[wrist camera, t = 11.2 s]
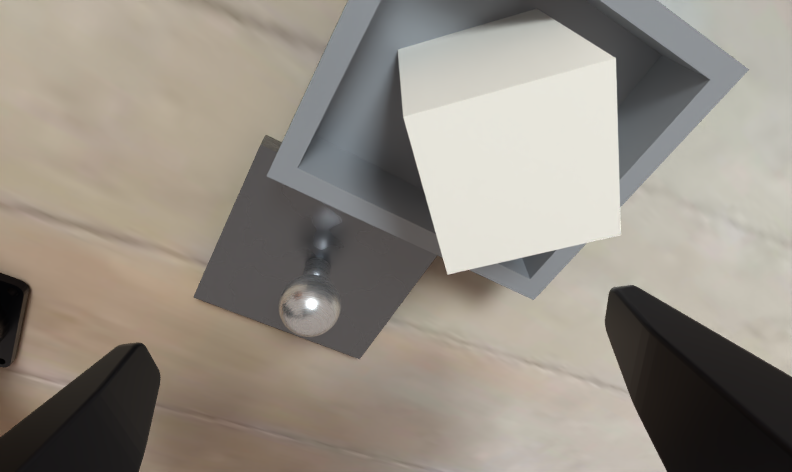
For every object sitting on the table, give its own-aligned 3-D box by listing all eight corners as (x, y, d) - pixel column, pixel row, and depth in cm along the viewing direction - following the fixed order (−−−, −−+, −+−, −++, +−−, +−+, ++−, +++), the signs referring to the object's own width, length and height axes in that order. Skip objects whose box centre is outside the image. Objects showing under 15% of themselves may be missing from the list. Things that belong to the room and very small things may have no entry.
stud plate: (360, 345, 27) (355, 422, 23) (200, 284, 24) (162, 358, 20) (449, 224, 23) (462, 292, 19) (266, 134, 20) (235, 191, 16)
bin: (512, 244, 23) (533, 300, 20) (286, 132, 20) (266, 176, 17) (682, 41, 18) (749, 69, 15) (418, -153, 15) (428, -172, 12)
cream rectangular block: (551, 139, 20) (620, 235, 14) (429, 170, 20) (447, 274, 14) (536, 8, 17) (615, 58, 11) (397, 49, 18) (403, 116, 12)
